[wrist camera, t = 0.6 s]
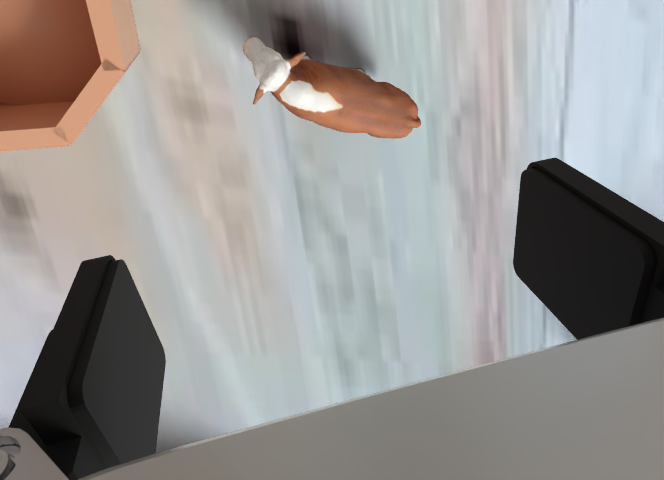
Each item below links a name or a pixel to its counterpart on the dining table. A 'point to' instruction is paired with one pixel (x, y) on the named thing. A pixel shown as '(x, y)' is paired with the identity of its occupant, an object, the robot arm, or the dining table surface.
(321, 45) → the dining table surface
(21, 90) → the bowl
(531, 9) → the dining table surface
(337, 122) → the bull figurine
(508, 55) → the dining table surface
